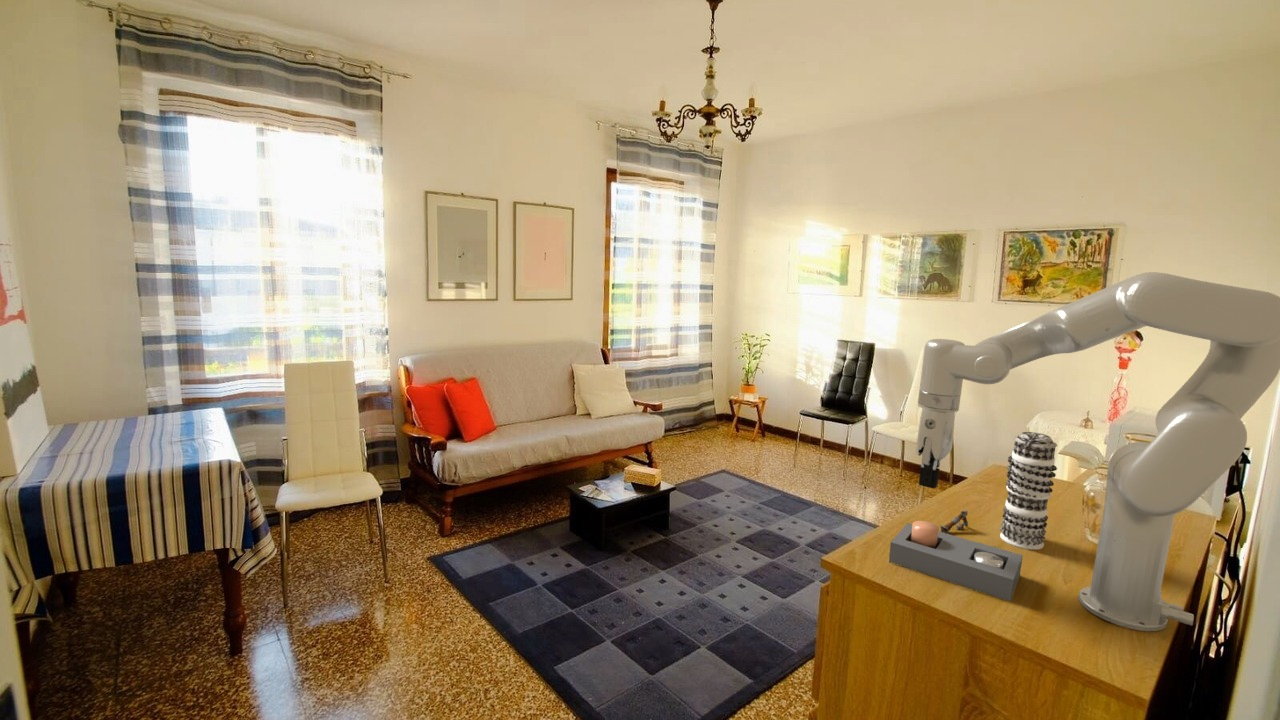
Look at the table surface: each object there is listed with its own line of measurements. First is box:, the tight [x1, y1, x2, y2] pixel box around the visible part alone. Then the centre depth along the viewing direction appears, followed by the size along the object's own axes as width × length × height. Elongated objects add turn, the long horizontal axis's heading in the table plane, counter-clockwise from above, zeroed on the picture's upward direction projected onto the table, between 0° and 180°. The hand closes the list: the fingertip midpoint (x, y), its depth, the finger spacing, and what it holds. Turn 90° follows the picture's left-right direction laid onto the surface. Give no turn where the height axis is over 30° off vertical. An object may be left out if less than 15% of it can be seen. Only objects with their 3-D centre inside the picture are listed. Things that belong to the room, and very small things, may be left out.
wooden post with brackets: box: [940, 510, 969, 535], centre depth 139 cm, size 2×8×4 cm, turn 114°
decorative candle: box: [999, 431, 1058, 551], centre depth 132 cm, size 9×9×25 cm
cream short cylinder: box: [974, 552, 1003, 569], centre depth 118 cm, size 5×5×4 cm
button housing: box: [888, 522, 1024, 602], centre depth 121 cm, size 22×12×4 cm, turn 50°
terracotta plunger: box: [911, 520, 940, 549], centre depth 125 cm, size 5×5×4 cm
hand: (927, 485), depth 123 cm, fingers closed
